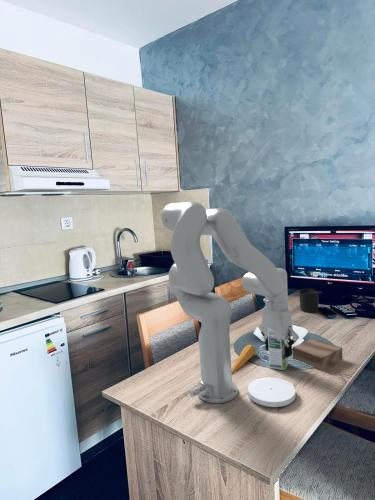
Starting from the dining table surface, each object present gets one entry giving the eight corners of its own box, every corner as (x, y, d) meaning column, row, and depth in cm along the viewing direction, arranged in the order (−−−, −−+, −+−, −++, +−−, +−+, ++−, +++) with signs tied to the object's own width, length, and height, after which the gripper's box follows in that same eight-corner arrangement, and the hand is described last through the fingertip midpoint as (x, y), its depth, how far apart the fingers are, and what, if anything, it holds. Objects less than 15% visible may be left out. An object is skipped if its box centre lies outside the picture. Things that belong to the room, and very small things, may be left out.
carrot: (249, 354, 137) (244, 344, 137) (259, 352, 135) (253, 341, 135) (226, 383, 121) (220, 371, 121) (236, 381, 118) (231, 369, 118)
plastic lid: (261, 380, 116) (261, 373, 116) (303, 392, 107) (302, 385, 107) (239, 400, 106) (238, 392, 105) (283, 416, 97) (283, 407, 96)
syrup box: (268, 368, 123) (267, 328, 121) (273, 361, 129) (271, 322, 127) (285, 371, 121) (283, 330, 119) (289, 363, 126) (287, 324, 124)
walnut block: (321, 372, 119) (321, 358, 118) (292, 360, 129) (292, 347, 128) (342, 361, 126) (342, 347, 125) (313, 350, 135) (313, 338, 135)
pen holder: (320, 308, 183) (320, 289, 182) (316, 313, 175) (316, 294, 174) (302, 306, 188) (301, 288, 187) (297, 311, 180) (297, 292, 179)
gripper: (250, 302, 126) (252, 349, 128) (291, 312, 113) (293, 364, 115) (263, 297, 131) (265, 343, 133) (305, 306, 117) (306, 356, 120)
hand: (278, 352), depth 124 cm, fingers closed on syrup box, 7 cm apart
